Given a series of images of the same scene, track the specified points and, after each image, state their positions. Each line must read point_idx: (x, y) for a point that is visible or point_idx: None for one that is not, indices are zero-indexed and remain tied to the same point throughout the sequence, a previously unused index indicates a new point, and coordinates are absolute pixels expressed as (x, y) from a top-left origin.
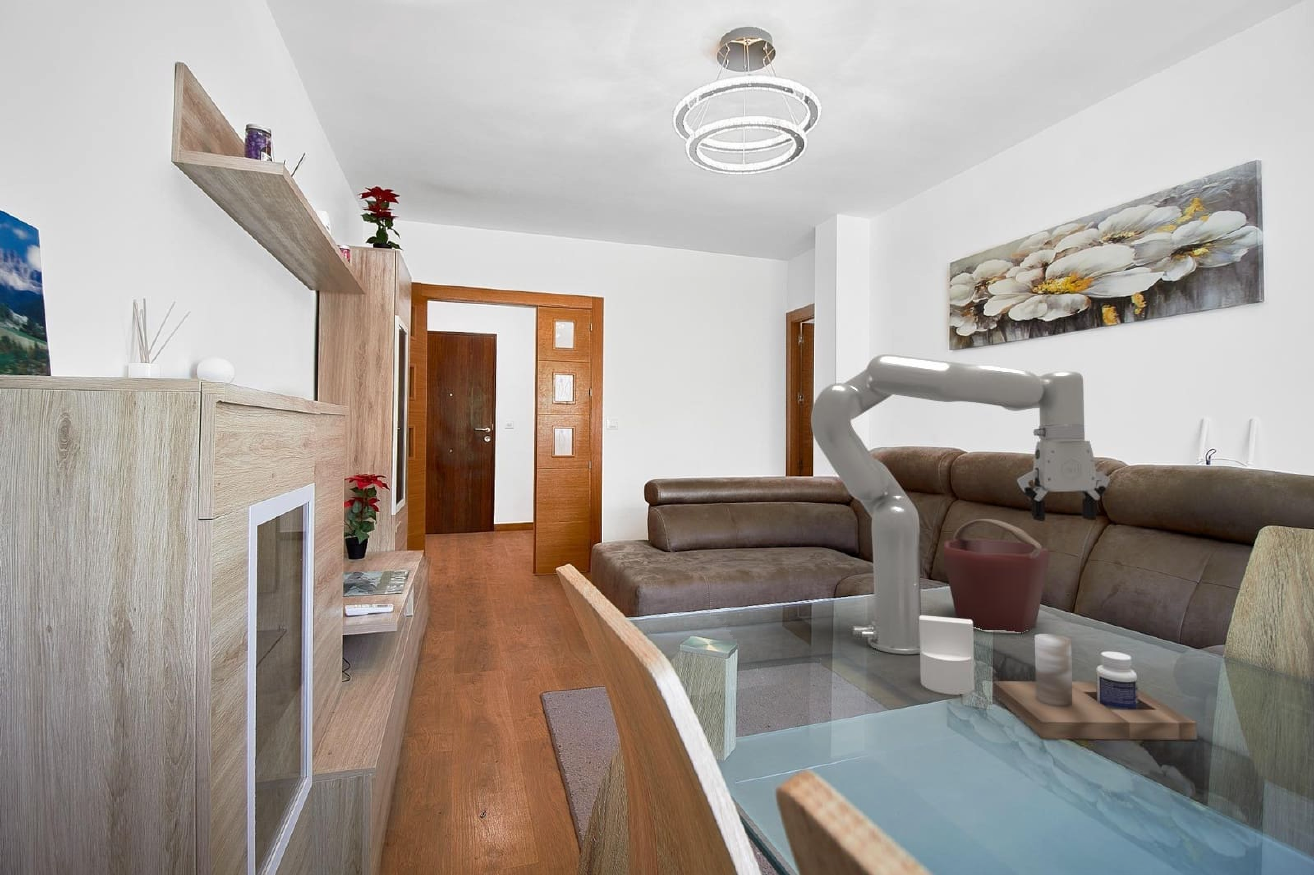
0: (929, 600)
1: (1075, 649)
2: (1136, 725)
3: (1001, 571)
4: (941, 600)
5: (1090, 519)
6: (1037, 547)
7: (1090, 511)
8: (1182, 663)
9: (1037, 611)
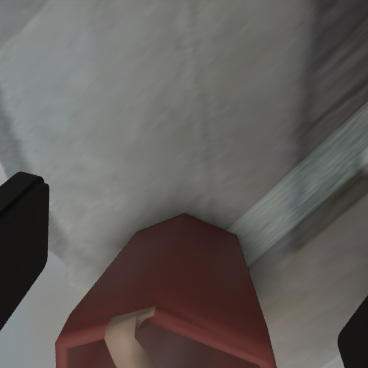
0: None
1: (156, 125)
2: None
3: (222, 303)
4: None
5: (48, 194)
6: (130, 325)
7: (13, 228)
8: (23, 10)
9: (128, 245)
